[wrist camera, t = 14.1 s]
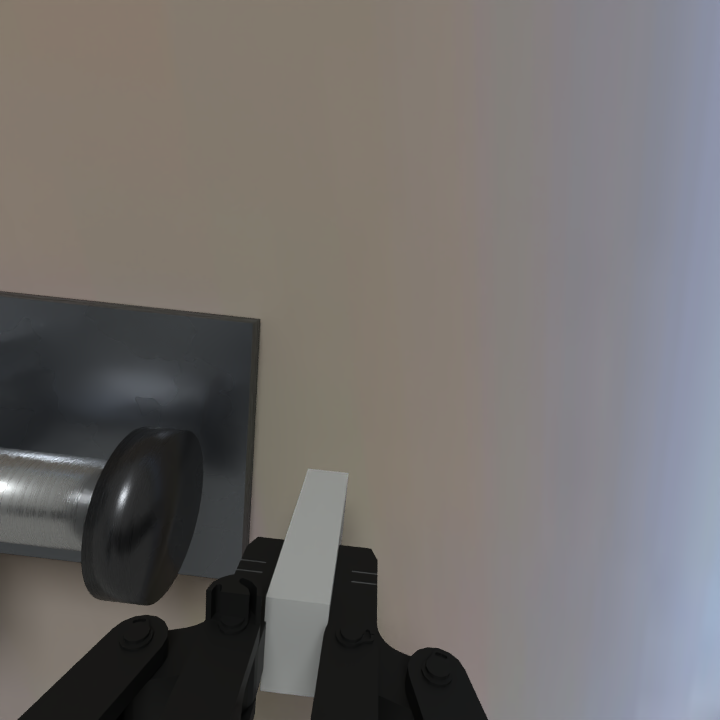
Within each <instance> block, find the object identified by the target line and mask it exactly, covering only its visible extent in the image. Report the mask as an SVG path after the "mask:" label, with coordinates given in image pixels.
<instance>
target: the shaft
mask: <svg viewBox="0 0 720 720" xmlns="http://www.w3.org/2000/svg"><path fill="white" fill-rule="evenodd" d="M202 487H203V456H202V450H201V446H200V443H199V440H198V438H197V437H196V435H195V434H194V433H193V432H191V431H188V430H180V429H171V428H162V427H153V426H142V427H139V428H137V429H135V430H133V431H132V432H130V433H129V434H128V435H127V436H126V437H125V438H124V439H123V440H122V441H121V442H120V443H119V444H118V446H117V447H116V448H115V450H114V451H113V453H112V454H111V456H110V457H109V459H108V460H107V459H98V458H89V457H80V456H72V455H63V454H54V453H45V452H37V451H28V450H19V449H10V448H2V447H0V542H5V543H14V544H22V545H31V546H39V547H48V548H56V549H65V550H73V551H81V566H82V574H83V578H84V582H85V585H86V587H87V589H88V591H89V592H90V594H91V595H92V596H93V597H94V598H96V599H99V600H104V601H112V602H121V603H129V604H137V605H152V604H154V603H155V602H157V601H158V600H159V599H160V598H162V597H163V595H164V594H165V593H166V592H167V591H168V589H169V588H170V586H171V585H172V583H173V582H174V580H175V578H176V576H177V574H178V572H179V570H180V568H181V566H182V564H183V562H184V559H185V557H186V554H187V552H188V549H189V546H190V543H191V540H192V537H193V534H194V530H195V526H196V522H197V518H198V513H199V508H200V503H201V496H202Z"/></svg>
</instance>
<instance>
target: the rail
mask: <svg viewBox="0 0 720 720" xmlns="http://www.w3.org/2000/svg"><path fill="white" fill-rule="evenodd" d="M259 335H260V319H254V318H245V317H236V316H226V315H217V314H208V313H199V312H189V311H180V310H171V309H161V308H152V307H143V306H134V305H124V304H115V303H106V302H96V301H87V300H78V299H69V298H59V297H50V296H41V295H32V294H22V293H13V292H4V291H0V447H2V448H10V449H19V450H28V451H37V452H45V453H54V454H63V455H72V456H80V457H89V458H98V459H107V460H108V459H109V457H110V456H111V454H112V453H113V451H114V450H115V448H116V447H117V446H118V444H119V443H120V442H121V441H122V440H123V439H124V438H125V437H126V436H127V435H128V434H129V433H130V432H132V431H133V430H135V429H137V428H139V427H142V426H153V427H162V428H171V429H180V430H188V431H191V432H193V433H194V434H195V435H196V437H197V438H198V440H199V443H200V446H201V450H202V456H203V487H202V496H201V503H200V508H199V513H198V518H197V522H196V526H195V530H194V534H193V537H192V540H191V543H190V546H189V549H188V552H187V554H186V557H185V559H184V562H183V564H182V566H181V568H180V570H179V572H178V574H183V575H192V576H200V577H208V578H217V579H219V578H221V577H224V576H228V575H231V574H235V571H236V570H237V567H238V565H239V562H240V560H241V558H242V556H243V554H244V551H245V549H246V547H247V546H248V545H249V530H250V510H251V491H252V471H253V452H254V432H255V413H256V394H257V374H258V355H259ZM0 553H6V554H15V555H23V556H31V557H40V558H48V559H57V560H65V561H74V562H81V551H73V550H65V549H56V548H48V547H39V546H31V545H22V544H14V543H5V542H0Z"/></svg>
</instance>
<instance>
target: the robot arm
mask: <svg viewBox="0 0 720 720" xmlns="http://www.w3.org/2000/svg"><path fill="white" fill-rule="evenodd" d="M348 474H349V473H344V472H335V471H326V470H317V469H308V471H307V474H306V477H305V480H304V483H303V486H302V489H301V492H300V495H299V498H298V501H297V504H296V507H295V510H294V514H293V517H292V520H291V523H290V526H289V529H288V532H287V535H286V538H285V540H282V539H273V538H264V537H257V538H256V539H255V540H254V541H252V542H251V543H250V544H249V545H248V546H247V547H246V549H245V551H244V554H243V556H242V558H241V560H240V562H239V565H238V567H237V570H236V571H235V574H231V575H228V576H224V577H221V578H219V579H218V580H216V581H214V582H213V583H212V584H211V585H210V586H209V587H208V589H207V590H206V620H205V621H204V622H202V623H200V624H198V625H195V626H191V627H187V628H181V629H174V630H168V627H167V625H166V623H165V621H163V620H162V619H160V618H158V617H157V616H150V615H142V616H135V617H132V618H130V619H127V620H125V621H123V622H121V623H120V624H118V625H117V626H116V627H114V628H113V629H112V630H111V631H110V632H109V633H108V634H107V635H105V636H104V637H103V638H102V639H101V640H100V641H99V642H98V643H97V644H96V645H95V646H94V647H93V648H92V649H91V650H90V651H89V652H88V653H87V654H86V655H85V656H84V657H83V658H81V659H80V660H79V661H78V662H77V663H76V664H75V665H74V666H73V667H72V668H71V669H70V670H69V671H68V672H67V673H66V674H65V675H64V676H63V677H62V678H61V679H60V680H58V681H57V682H56V683H55V684H54V685H53V686H52V687H51V688H50V689H49V690H48V691H47V692H46V693H45V694H44V695H43V696H42V697H41V698H40V699H39V700H38V701H37V702H35V703H34V704H33V705H32V706H31V707H30V708H29V709H28V710H27V711H26V712H25V713H24V714H23V715H22V716H21V717H20V718H19V719H18V720H253V718H254V714H255V703H256V694H257V690H258V687H259V683H260V679H261V684H260V691H266V692H274V693H283V694H291V695H299V696H307V697H314V701H313V708H312V714H311V720H488V719H487V717H486V714H485V712H484V710H483V708H482V706H481V704H480V701H479V699H478V697H477V695H476V693H475V691H474V688H473V686H472V684H471V682H470V680H469V678H468V675H467V673H466V671H465V669H464V668H463V666H462V665H461V663H460V662H459V660H458V659H456V658H455V657H454V656H453V655H451V654H450V653H449V652H446V651H444V650H441V649H439V648H429V647H427V648H424V649H420V650H417V651H416V652H415V653H414V654H413V655H412V656H408V655H406V654H403V653H401V652H399V651H397V650H395V649H393V648H392V647H391V646H389V645H388V644H387V643H386V642H385V641H384V640H383V638H382V637H381V636H380V634H379V631H378V628H377V559H376V557H375V555H374V553H373V551H372V550H371V549H369V548H361V547H352V546H343V545H341V541H342V532H343V522H344V513H345V503H346V493H347V484H348Z"/></svg>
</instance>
